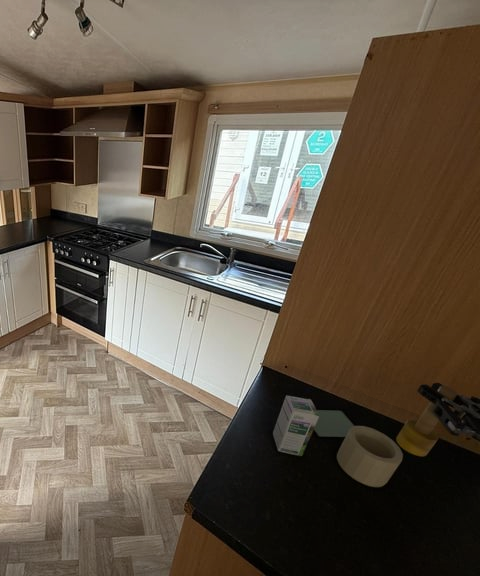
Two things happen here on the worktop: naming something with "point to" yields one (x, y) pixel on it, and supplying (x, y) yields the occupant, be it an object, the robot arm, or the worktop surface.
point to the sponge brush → (423, 428)
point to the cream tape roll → (369, 456)
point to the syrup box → (295, 425)
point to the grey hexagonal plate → (332, 424)
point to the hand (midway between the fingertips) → (427, 386)
